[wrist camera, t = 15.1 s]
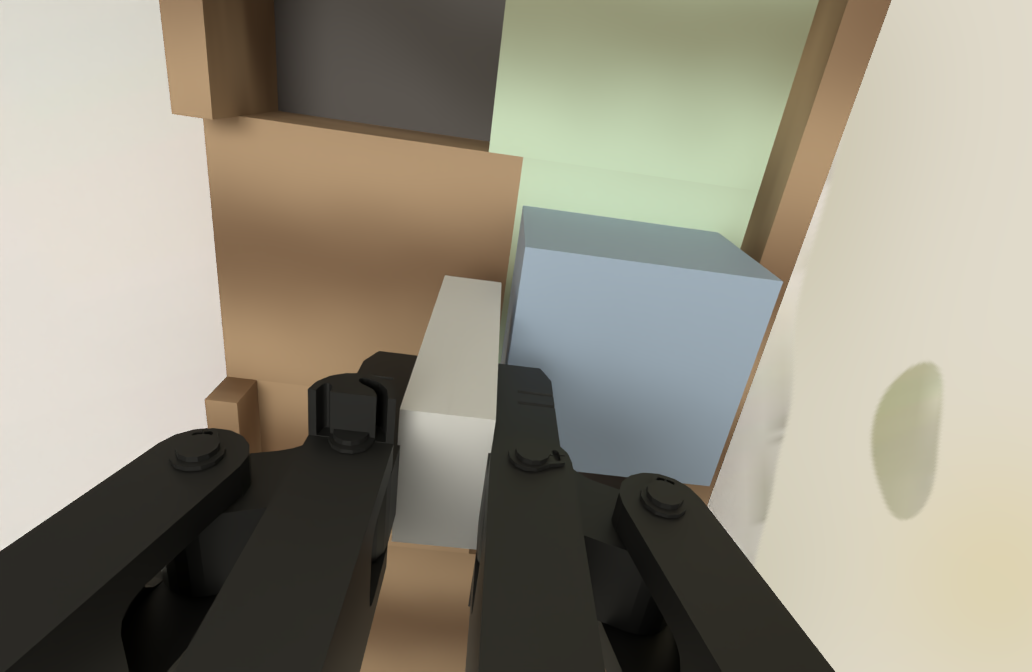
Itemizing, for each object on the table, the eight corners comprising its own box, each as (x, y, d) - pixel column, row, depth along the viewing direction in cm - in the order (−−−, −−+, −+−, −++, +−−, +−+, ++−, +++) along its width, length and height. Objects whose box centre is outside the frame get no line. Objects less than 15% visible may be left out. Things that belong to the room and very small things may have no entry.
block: (668, 400, 19) (709, 486, 15) (497, 379, 19) (492, 461, 15) (717, 232, 17) (783, 281, 13) (522, 205, 16) (524, 246, 12)
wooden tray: (604, 656, 30) (618, 748, 25) (280, 626, 28) (241, 717, 24) (840, -107, 16) (954, -172, 12) (230, -216, 15) (121, -329, 11)
